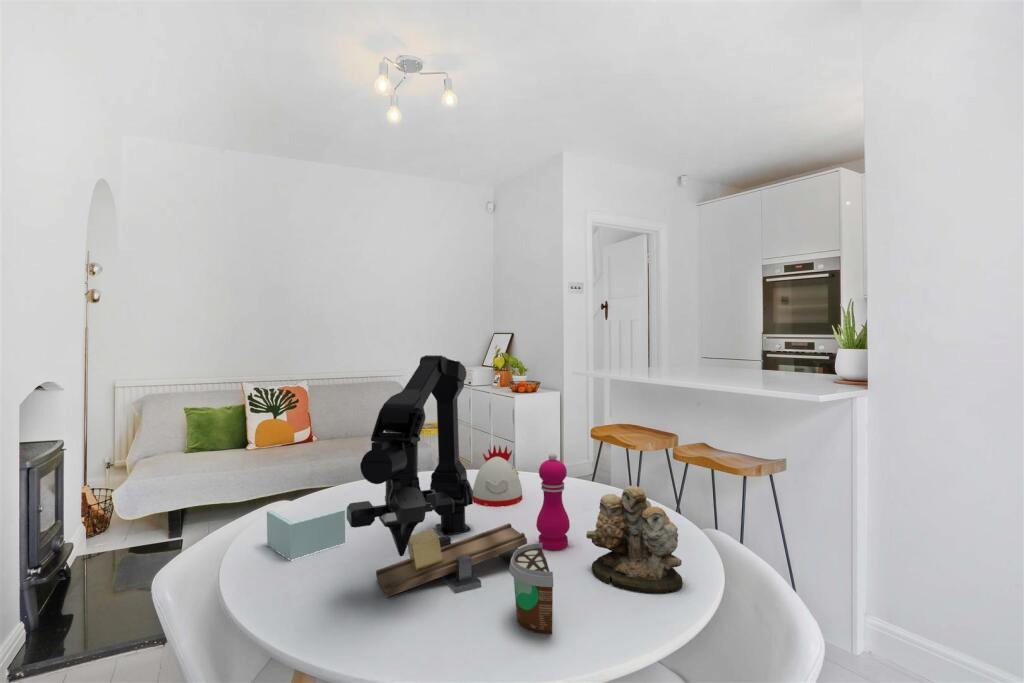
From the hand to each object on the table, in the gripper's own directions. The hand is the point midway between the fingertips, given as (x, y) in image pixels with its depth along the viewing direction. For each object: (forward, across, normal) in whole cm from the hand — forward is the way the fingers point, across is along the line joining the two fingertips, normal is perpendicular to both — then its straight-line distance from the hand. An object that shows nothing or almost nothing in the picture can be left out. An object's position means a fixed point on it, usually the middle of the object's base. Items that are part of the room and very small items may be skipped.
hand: (401, 555), depth 98 cm
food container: (+6, +16, -21) cm, 26 cm away
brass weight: (+3, +5, 0) cm, 6 cm away
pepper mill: (+5, +34, +4) cm, 35 cm away
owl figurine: (+5, +40, -16) cm, 44 cm away
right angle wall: (+6, -14, +28) cm, 32 cm away
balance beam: (+2, +10, 0) cm, 10 cm away
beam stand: (+5, +16, 0) cm, 17 cm away
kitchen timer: (+5, +37, +39) cm, 54 cm away
